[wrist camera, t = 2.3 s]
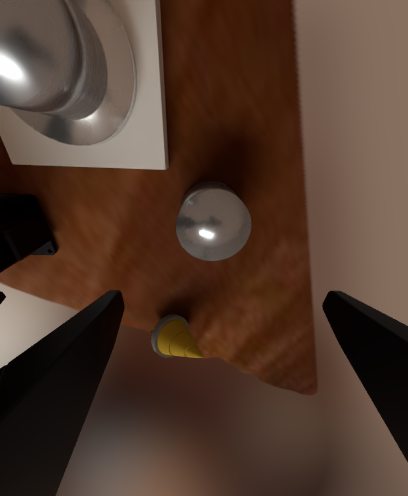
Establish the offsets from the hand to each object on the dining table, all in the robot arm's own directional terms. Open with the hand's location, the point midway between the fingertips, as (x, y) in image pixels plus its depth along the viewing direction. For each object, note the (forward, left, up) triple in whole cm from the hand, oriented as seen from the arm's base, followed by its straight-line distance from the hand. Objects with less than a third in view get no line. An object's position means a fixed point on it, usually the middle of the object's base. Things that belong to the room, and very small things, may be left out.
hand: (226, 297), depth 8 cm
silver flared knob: (0, 0, -13) cm, 13 cm away
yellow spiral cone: (-4, -16, -13) cm, 21 cm away
